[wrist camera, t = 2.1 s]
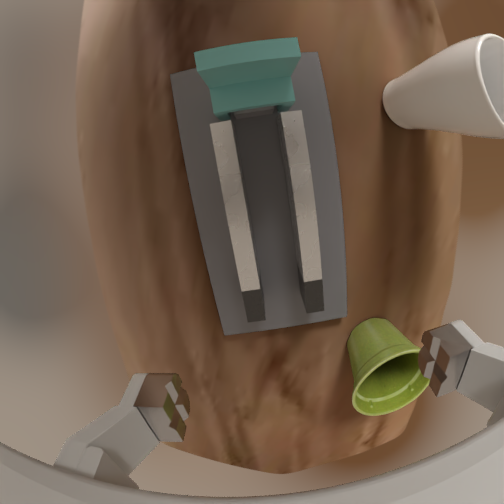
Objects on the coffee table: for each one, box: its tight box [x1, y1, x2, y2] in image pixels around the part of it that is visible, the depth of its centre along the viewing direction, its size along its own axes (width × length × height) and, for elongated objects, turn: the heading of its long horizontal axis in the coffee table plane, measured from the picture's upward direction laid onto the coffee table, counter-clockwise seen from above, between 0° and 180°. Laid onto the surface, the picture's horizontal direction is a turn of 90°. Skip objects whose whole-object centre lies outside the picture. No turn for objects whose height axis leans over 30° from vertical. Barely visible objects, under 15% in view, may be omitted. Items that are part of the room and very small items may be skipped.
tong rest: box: [170, 52, 347, 335], centre depth 24 cm, size 26×13×4 cm, turn 10°
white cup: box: [383, 34, 504, 139], centre depth 16 cm, size 7×7×15 cm
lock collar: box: [194, 37, 301, 121], centre depth 17 cm, size 3×6×10 cm, turn 100°
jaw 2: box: [276, 110, 324, 314], centre depth 23 cm, size 16×2×4 cm, turn 10°
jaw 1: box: [210, 120, 266, 323], centre depth 23 cm, size 16×2×4 cm, turn 10°
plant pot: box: [347, 318, 430, 416], centre depth 27 cm, size 9×9×9 cm
